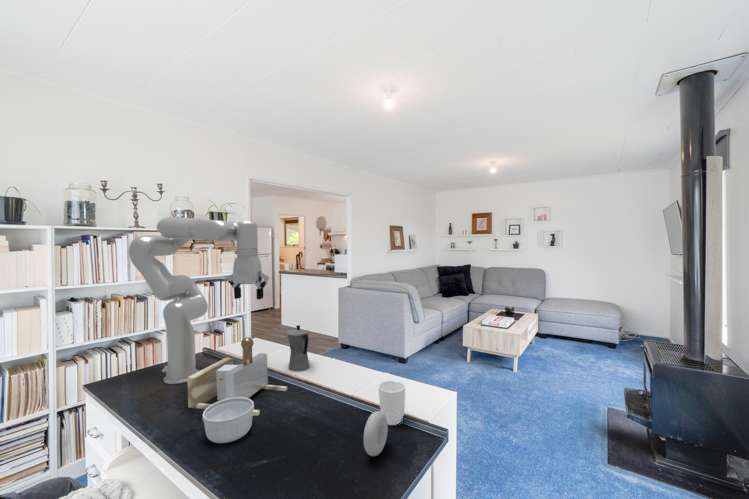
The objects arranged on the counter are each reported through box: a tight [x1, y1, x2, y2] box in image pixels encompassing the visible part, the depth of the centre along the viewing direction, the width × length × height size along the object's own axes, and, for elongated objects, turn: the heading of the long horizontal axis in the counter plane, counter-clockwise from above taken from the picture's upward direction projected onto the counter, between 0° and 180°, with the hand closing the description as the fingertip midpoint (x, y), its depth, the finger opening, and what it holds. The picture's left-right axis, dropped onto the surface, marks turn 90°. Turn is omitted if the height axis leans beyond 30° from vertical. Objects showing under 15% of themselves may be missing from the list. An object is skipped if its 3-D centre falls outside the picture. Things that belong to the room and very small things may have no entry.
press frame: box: [187, 357, 288, 417], centre depth 112 cm, size 26×19×10 cm
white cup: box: [378, 380, 406, 426], centre depth 97 cm, size 8×8×10 cm
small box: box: [216, 364, 239, 402], centre depth 113 cm, size 8×6×10 cm
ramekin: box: [202, 397, 255, 444], centre depth 92 cm, size 13×13×7 cm
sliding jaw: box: [225, 336, 269, 399], centre depth 111 cm, size 4×19×20 cm, turn 166°
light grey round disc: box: [362, 410, 389, 457], centre depth 82 cm, size 10×3×10 cm, turn 155°
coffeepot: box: [287, 325, 310, 372], centre depth 138 cm, size 15×9×18 cm, turn 37°
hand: (248, 298), depth 124 cm, fingers open, 9 cm apart
